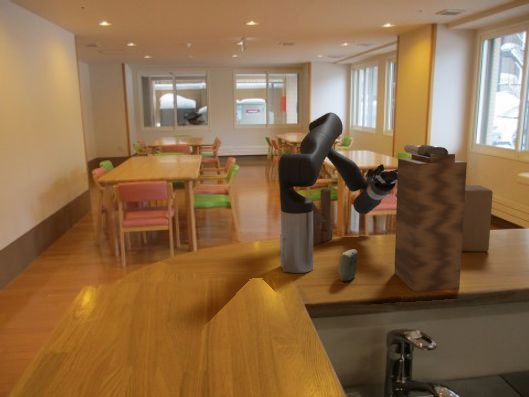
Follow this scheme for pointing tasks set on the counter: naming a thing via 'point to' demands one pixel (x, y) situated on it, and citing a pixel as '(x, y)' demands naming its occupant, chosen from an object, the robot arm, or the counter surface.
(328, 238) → the wooden block
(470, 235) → the wooden block
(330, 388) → the counter surface
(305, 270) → the robot arm
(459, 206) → the brown tall block
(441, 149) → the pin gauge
